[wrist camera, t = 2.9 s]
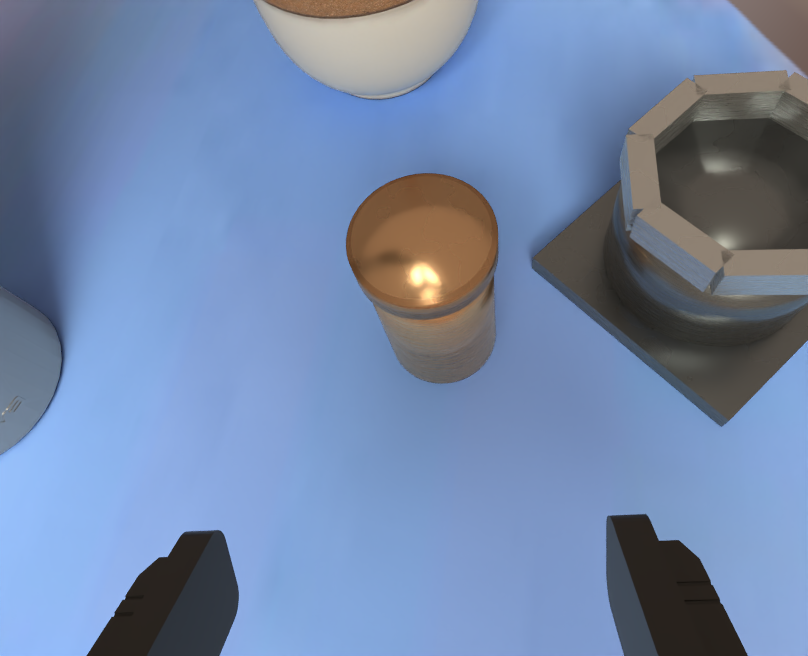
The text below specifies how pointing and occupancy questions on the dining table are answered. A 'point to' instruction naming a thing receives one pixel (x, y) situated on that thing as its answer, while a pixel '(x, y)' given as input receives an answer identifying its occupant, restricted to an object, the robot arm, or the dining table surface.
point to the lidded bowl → (369, 40)
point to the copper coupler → (429, 272)
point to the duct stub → (702, 238)
